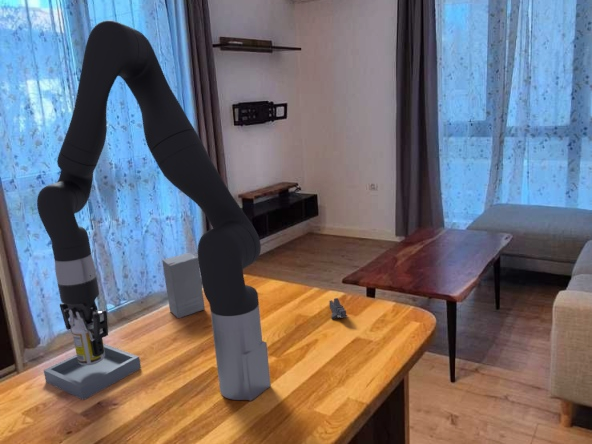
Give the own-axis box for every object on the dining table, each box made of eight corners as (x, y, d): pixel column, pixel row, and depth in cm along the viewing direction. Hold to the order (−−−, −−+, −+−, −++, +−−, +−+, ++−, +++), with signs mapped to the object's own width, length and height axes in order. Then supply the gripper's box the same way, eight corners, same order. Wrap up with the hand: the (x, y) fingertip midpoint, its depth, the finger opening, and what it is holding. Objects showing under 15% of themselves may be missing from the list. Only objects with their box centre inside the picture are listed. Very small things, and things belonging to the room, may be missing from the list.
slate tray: (141, 368, 112) (139, 356, 112) (83, 400, 101) (80, 387, 101) (103, 353, 120) (101, 342, 120) (45, 382, 109) (43, 370, 109)
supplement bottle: (108, 352, 113) (101, 309, 111) (101, 365, 108) (93, 320, 105) (82, 355, 113) (74, 312, 110) (74, 368, 107) (66, 323, 105)
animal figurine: (324, 314, 137) (322, 295, 136) (340, 311, 137) (337, 293, 137) (336, 324, 125) (334, 304, 125) (353, 321, 126) (351, 301, 125)
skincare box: (196, 303, 147) (189, 251, 143) (206, 311, 141) (199, 256, 138) (168, 312, 142) (160, 257, 139) (177, 320, 137) (169, 263, 133)
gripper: (113, 276, 105) (125, 351, 108) (74, 267, 113) (86, 337, 117) (80, 288, 99) (94, 367, 103) (41, 278, 107) (55, 351, 111)
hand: (90, 351), depth 110 cm, fingers closed on supplement bottle, 5 cm apart
